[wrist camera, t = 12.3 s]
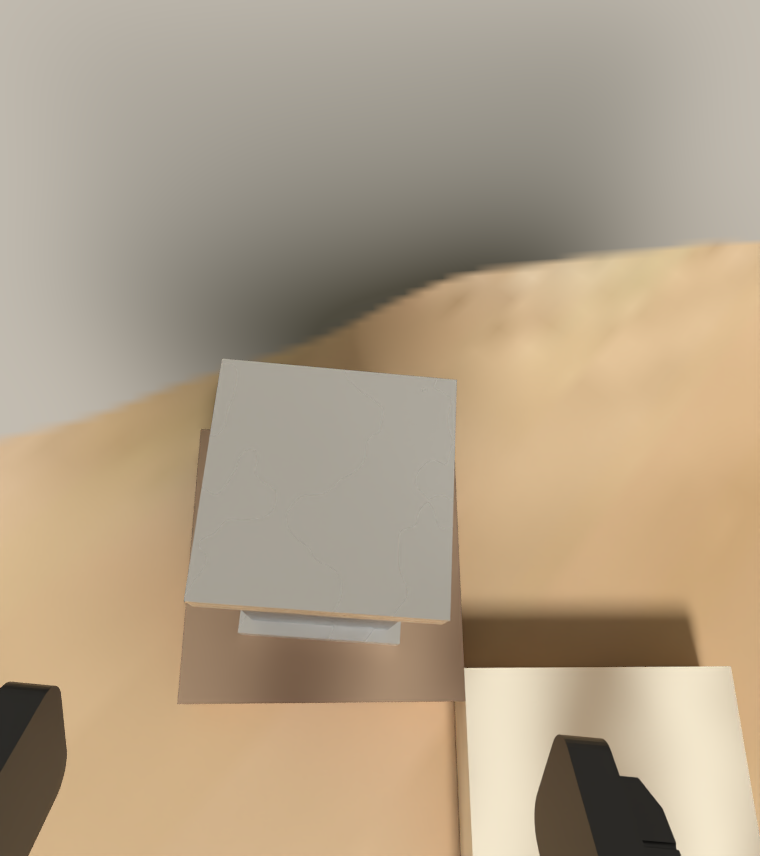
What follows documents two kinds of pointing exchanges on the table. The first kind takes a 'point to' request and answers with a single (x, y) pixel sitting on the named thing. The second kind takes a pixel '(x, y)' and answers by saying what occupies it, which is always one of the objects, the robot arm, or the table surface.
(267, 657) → the stand
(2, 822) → the robot arm
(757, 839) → the stand
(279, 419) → the block
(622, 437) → the table surface
